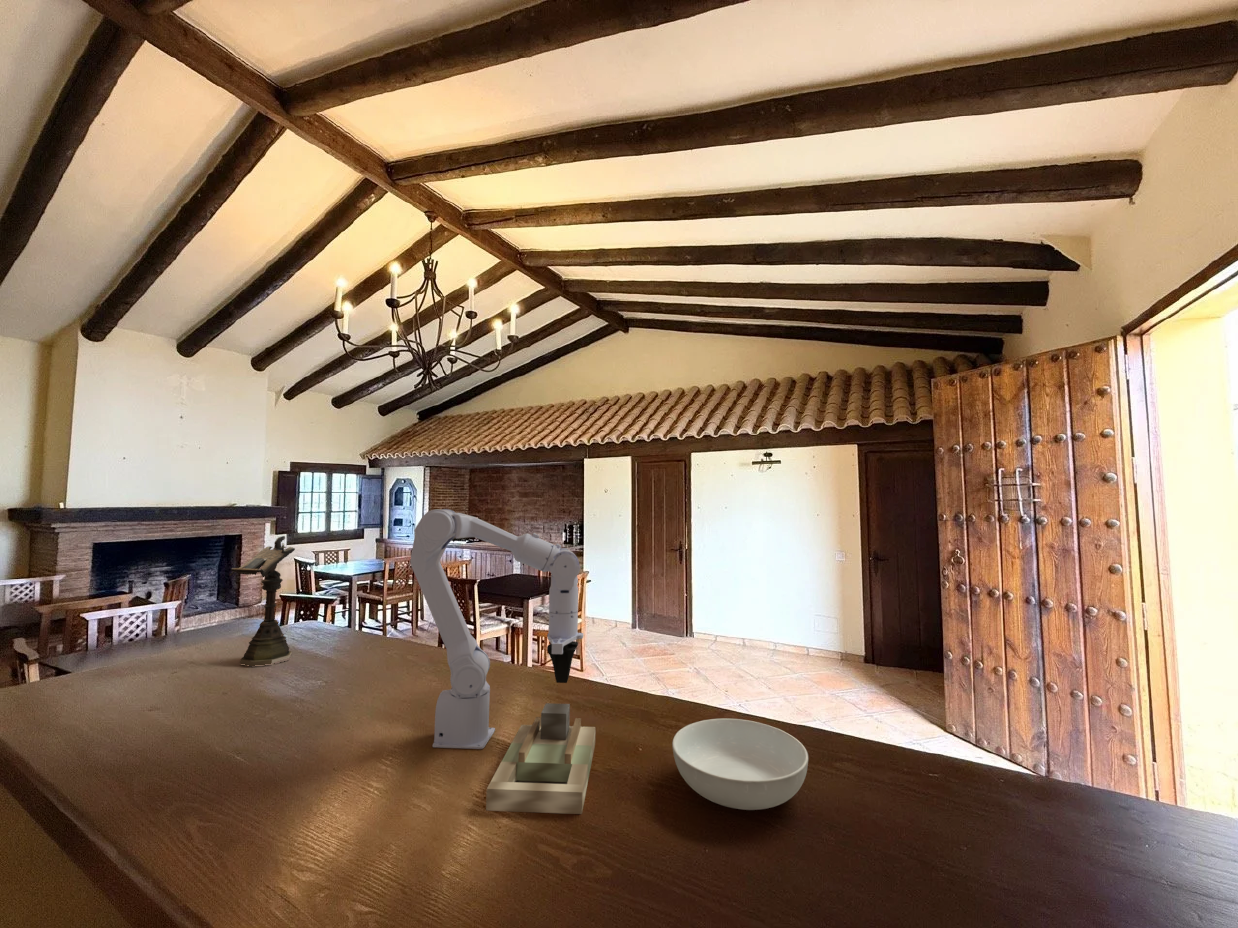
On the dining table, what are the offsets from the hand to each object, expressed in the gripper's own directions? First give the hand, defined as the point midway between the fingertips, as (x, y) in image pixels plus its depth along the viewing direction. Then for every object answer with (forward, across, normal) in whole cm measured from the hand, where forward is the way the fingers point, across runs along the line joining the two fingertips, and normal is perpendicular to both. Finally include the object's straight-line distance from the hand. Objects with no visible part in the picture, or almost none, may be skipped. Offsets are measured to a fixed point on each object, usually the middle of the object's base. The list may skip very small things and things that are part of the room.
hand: (562, 681), depth 100 cm
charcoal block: (+7, -7, 0) cm, 10 cm away
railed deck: (+10, -14, 0) cm, 18 cm away
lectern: (+10, +38, +89) cm, 97 cm away
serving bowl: (+10, -18, -31) cm, 37 cm away
